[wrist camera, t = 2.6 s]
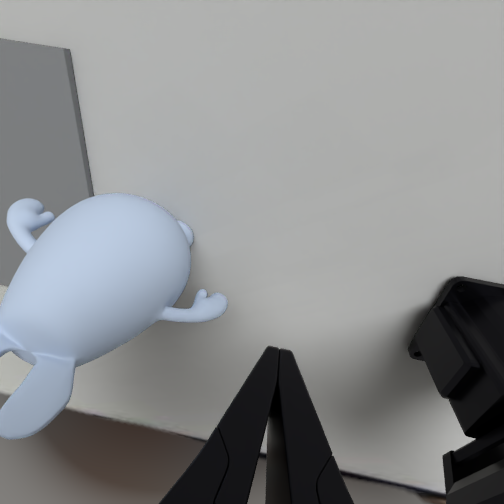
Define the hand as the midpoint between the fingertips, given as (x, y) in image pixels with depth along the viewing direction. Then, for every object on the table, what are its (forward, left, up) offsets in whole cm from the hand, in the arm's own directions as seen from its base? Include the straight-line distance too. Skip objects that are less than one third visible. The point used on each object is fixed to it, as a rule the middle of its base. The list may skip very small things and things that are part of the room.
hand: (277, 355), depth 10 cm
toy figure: (+8, 0, -8) cm, 11 cm away
